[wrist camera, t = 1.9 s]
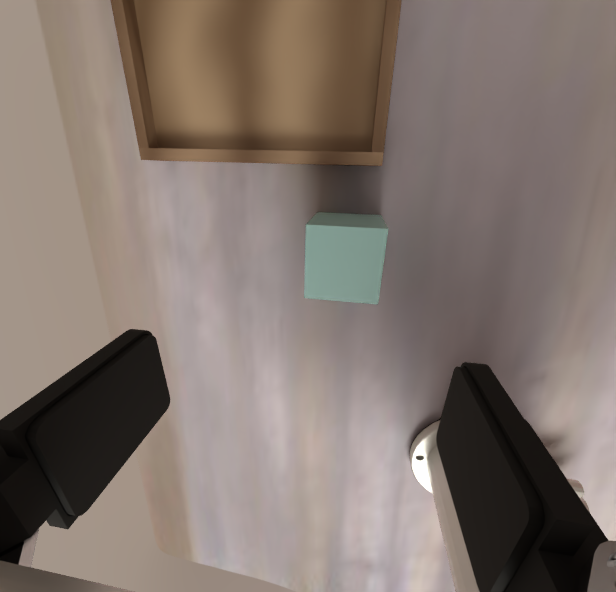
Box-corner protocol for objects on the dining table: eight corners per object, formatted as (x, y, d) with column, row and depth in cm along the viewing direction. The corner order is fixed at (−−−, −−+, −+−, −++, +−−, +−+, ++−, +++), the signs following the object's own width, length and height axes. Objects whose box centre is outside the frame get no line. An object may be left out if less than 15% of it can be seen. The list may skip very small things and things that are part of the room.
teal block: (380, 214, 23) (388, 229, 17) (373, 275, 25) (377, 304, 19) (317, 212, 23) (305, 224, 18) (315, 270, 25) (304, 297, 20)
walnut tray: (427, -244, 14) (436, -300, 12) (380, 166, 21) (382, 165, 19) (95, -192, 16) (66, -232, 15) (156, 160, 24) (141, 159, 22)
